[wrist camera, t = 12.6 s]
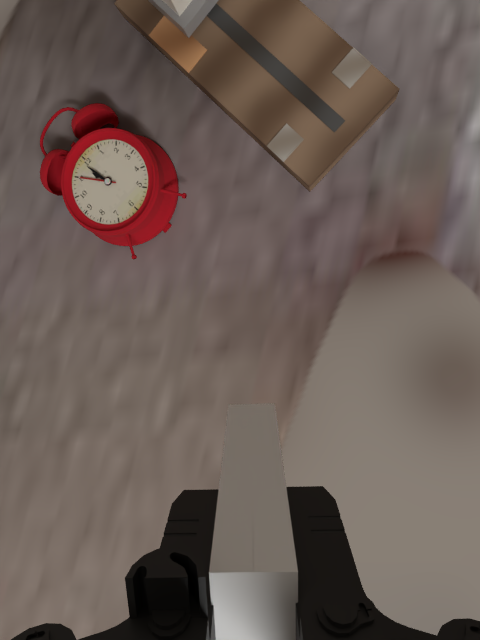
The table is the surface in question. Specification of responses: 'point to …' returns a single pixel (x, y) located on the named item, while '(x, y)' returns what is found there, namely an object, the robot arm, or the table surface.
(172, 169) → the alarm clock
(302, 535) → the robot arm
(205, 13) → the fader tab
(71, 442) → the table surface
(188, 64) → the board
